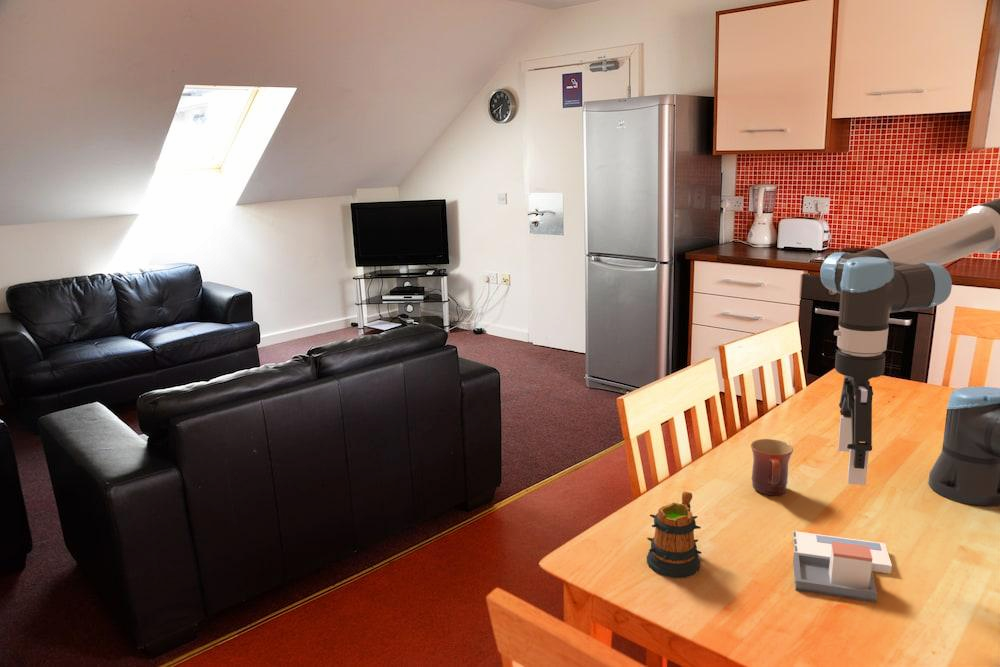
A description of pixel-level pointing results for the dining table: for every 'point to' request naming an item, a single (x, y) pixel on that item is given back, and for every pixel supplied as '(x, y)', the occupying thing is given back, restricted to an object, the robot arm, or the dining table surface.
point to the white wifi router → (822, 543)
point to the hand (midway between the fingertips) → (850, 466)
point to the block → (850, 565)
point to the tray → (826, 579)
